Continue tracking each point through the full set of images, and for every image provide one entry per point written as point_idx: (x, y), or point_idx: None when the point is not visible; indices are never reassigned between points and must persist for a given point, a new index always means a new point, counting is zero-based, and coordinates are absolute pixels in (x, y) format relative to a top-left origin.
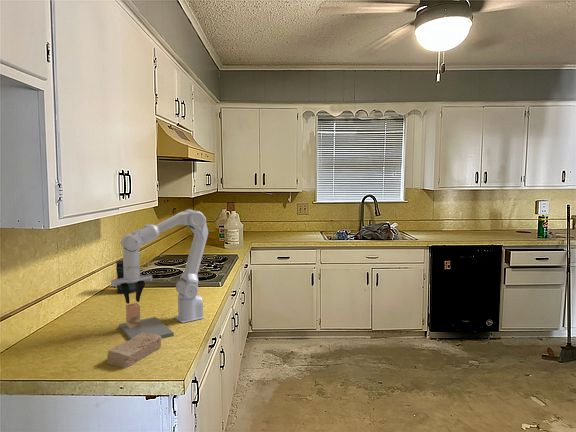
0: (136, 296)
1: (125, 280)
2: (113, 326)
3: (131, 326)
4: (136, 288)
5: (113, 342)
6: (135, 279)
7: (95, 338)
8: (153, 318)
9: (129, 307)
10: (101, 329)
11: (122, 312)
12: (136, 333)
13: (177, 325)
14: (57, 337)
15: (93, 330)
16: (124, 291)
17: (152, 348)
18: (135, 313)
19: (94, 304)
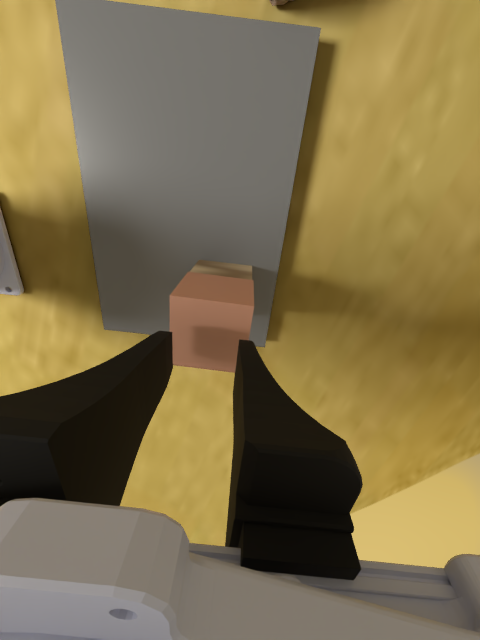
0: (159, 382)
1: None
2: (277, 359)
3: (241, 266)
4: (125, 451)
5: (370, 173)
6: (23, 629)
7: (394, 282)
8: (116, 316)
9: (248, 307)
10: (324, 358)
11: (198, 453)
12: (252, 167)
13: (24, 181)
14: (472, 381)
15: (350, 366)
16: (305, 413)
17: None
18: (212, 282)
19: None
